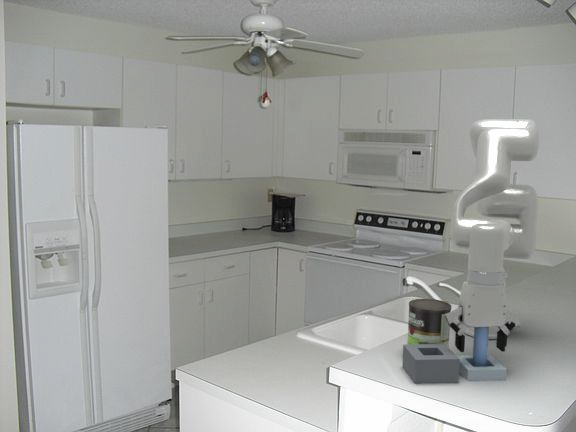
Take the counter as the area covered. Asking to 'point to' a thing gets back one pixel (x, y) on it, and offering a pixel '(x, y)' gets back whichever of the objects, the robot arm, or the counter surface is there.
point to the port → (430, 363)
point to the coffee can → (428, 322)
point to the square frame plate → (481, 369)
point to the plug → (480, 346)
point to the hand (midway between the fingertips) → (480, 349)
